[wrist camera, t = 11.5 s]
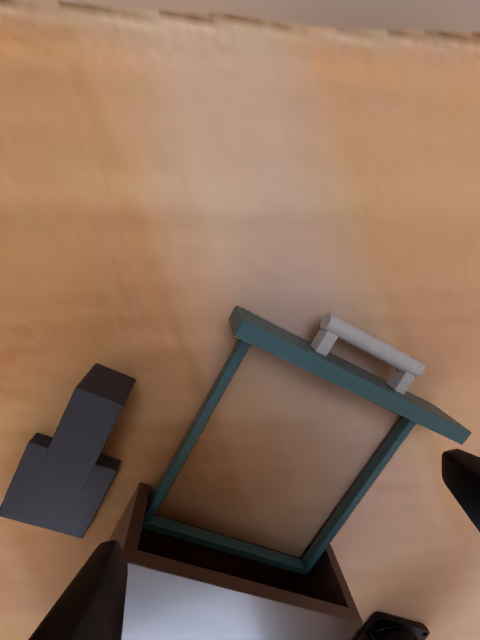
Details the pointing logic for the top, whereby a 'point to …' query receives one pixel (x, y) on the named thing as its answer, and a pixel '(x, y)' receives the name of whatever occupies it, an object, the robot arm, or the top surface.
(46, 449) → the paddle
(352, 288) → the top surface
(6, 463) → the top surface
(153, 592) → the drawer unit
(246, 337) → the drawer
